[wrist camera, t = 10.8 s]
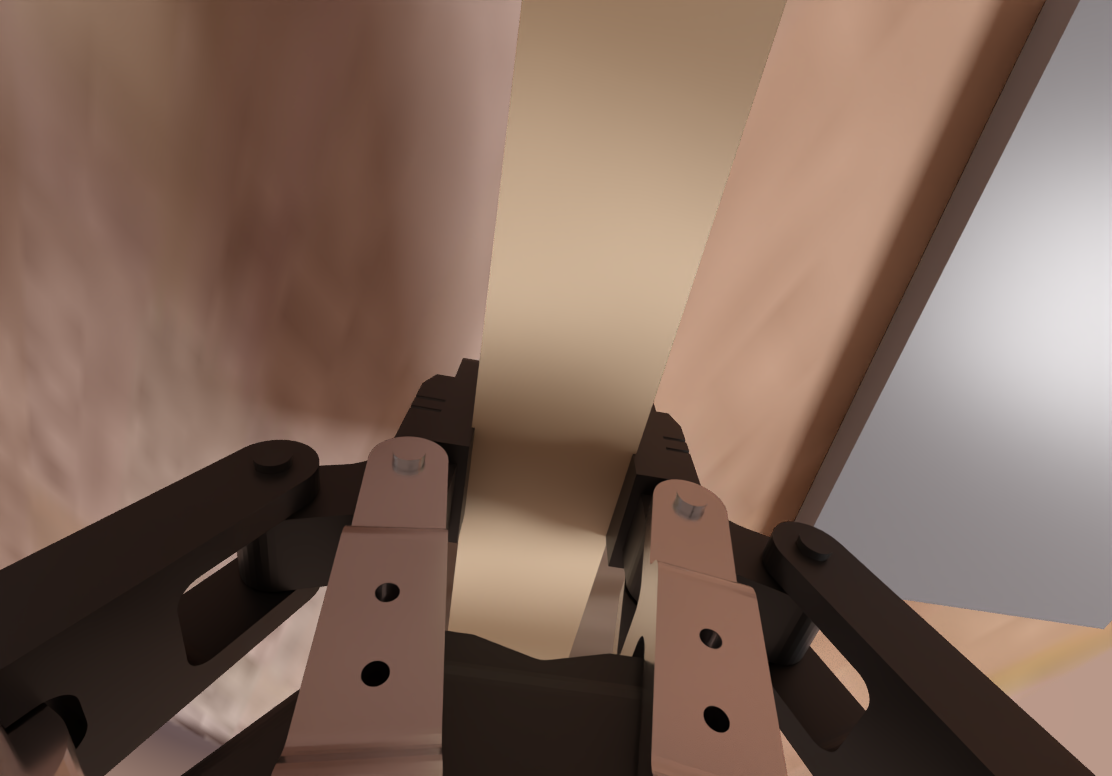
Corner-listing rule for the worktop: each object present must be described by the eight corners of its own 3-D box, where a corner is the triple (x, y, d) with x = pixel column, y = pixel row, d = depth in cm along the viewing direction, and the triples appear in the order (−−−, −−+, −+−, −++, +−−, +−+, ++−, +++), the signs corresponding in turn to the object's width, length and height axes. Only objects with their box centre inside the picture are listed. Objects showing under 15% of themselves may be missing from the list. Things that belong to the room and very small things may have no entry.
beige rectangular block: (409, -54, 10) (278, -125, 5) (839, 39, 10) (1020, 41, 6) (394, 529, 18) (336, 682, 14) (635, 565, 18) (652, 723, 14)
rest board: (1046, -1, 14) (1085, -11, 13) (1517, 103, 15) (1589, 102, 14) (775, 560, 23) (785, 582, 22) (1080, 606, 24) (1103, 629, 23)
